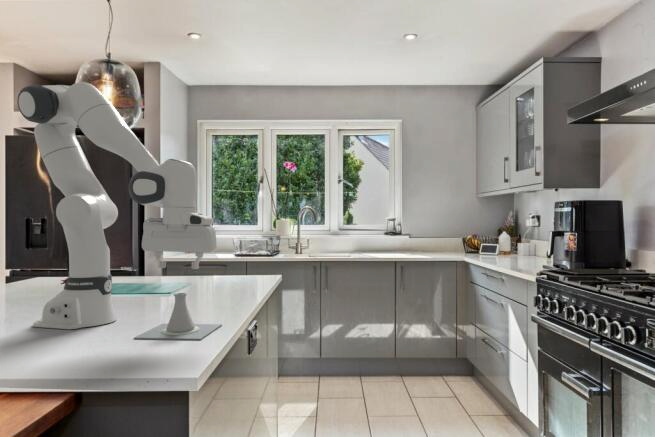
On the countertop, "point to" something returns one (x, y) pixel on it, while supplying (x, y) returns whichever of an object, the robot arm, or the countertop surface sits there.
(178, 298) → the flask
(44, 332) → the countertop surface
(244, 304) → the countertop surface
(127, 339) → the countertop surface
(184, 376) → the countertop surface
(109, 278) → the robot arm
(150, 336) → the card
